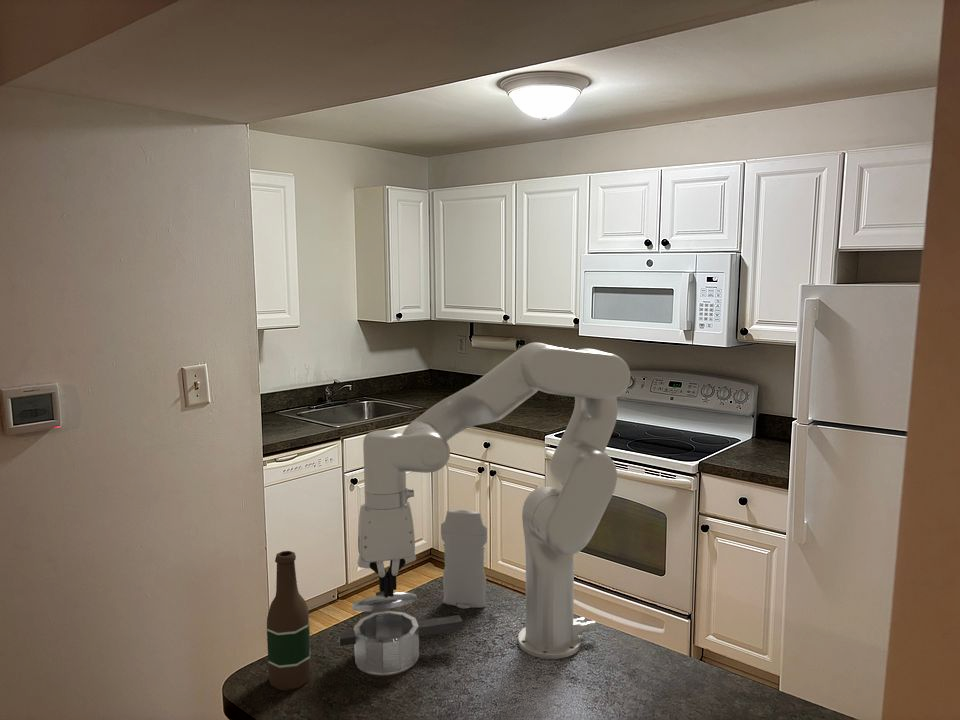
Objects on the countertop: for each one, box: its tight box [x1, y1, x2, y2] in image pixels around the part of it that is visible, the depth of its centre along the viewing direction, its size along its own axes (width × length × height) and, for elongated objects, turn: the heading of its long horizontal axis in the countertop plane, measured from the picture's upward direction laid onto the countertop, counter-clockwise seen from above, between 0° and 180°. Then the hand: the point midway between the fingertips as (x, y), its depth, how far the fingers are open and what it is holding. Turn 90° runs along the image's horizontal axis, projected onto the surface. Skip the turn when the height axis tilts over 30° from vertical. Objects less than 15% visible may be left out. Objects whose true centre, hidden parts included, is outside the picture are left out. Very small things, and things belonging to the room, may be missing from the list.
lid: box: [351, 591, 418, 612], centre depth 134 cm, size 12×12×3 cm
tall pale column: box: [440, 509, 488, 609], centre depth 154 cm, size 11×4×22 cm, turn 77°
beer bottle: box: [266, 550, 312, 691], centre depth 125 cm, size 8×8×24 cm
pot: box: [338, 608, 464, 677], centre depth 134 cm, size 24×13×6 cm, turn 106°
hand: (387, 593), depth 128 cm, fingers closed
